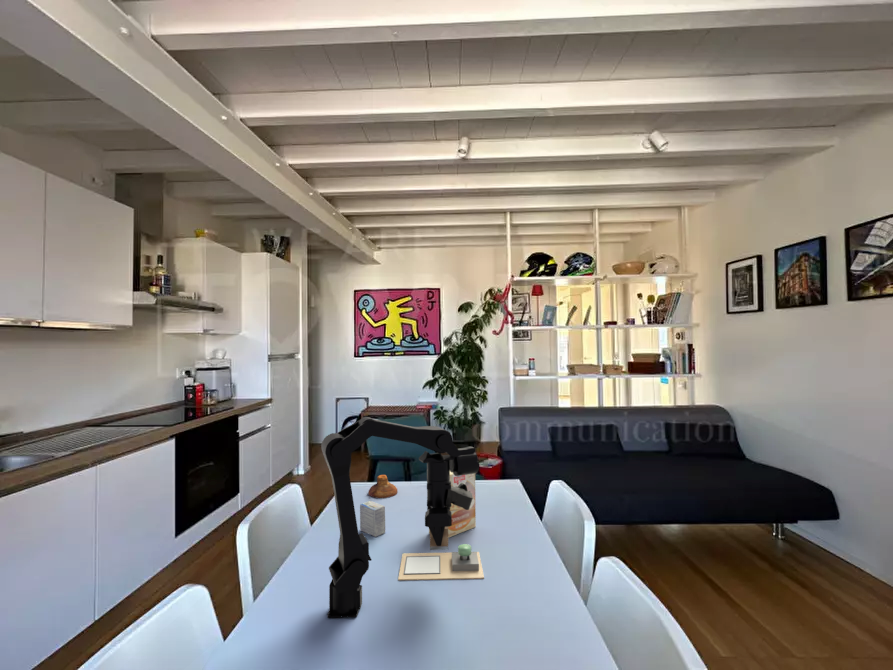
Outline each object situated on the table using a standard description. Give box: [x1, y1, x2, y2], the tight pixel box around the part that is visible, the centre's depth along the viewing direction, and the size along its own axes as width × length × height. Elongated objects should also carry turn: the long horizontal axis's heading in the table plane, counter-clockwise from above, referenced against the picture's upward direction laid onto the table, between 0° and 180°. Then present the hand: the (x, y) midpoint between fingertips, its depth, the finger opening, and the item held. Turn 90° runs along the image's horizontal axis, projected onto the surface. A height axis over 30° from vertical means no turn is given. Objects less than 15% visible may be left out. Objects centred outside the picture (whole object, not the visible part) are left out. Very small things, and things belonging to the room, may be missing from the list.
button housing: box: [451, 551, 479, 571], centre depth 118 cm, size 7×7×2 cm
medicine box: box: [359, 500, 386, 538], centre depth 140 cm, size 8×4×9 cm, turn 47°
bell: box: [367, 474, 398, 499], centre depth 178 cm, size 12×12×7 cm
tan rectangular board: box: [397, 551, 485, 581], centre depth 118 cm, size 22×14×1 cm, turn 91°
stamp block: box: [429, 527, 449, 551], centre depth 108 cm, size 4×4×5 cm
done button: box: [457, 543, 472, 560], centre depth 118 cm, size 4×4×4 cm
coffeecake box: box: [428, 472, 477, 539], centre depth 141 cm, size 15×7×20 cm, turn 131°
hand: (439, 541), depth 108 cm, fingers closed on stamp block, 4 cm apart
